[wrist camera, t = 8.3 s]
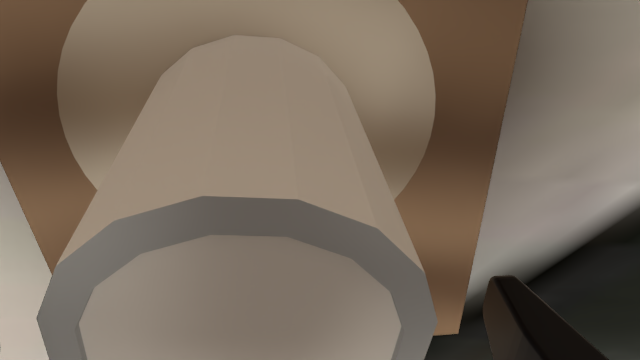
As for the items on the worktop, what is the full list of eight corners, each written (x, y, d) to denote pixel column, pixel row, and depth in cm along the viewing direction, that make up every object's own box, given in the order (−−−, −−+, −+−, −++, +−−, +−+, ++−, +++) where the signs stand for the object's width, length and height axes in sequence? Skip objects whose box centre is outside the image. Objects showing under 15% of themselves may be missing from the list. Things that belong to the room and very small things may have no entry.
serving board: (451, 313, 23) (458, 335, 22) (97, 338, 22) (90, 363, 21) (585, -391, 10) (614, -403, 9) (-209, -378, 10) (-257, -392, 9)
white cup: (303, -45, 13) (329, 120, 7) (415, 167, 16) (489, 380, 11) (64, 90, 14) (-66, 312, 9) (218, 254, 18) (196, 478, 13)
